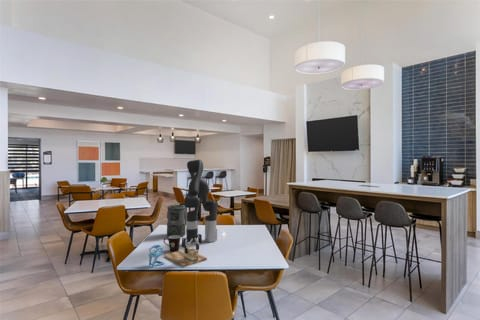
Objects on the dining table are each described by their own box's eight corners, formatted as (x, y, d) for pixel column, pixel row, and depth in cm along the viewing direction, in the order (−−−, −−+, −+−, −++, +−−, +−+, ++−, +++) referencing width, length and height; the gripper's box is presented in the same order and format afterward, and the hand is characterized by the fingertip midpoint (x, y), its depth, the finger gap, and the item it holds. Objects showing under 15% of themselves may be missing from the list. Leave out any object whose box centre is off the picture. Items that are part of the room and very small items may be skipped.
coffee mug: (182, 250, 199) (182, 236, 199) (174, 253, 191) (174, 239, 191) (171, 247, 205) (171, 234, 205) (162, 250, 197) (162, 236, 197)
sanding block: (190, 256, 182) (190, 247, 182) (198, 259, 176) (198, 250, 176) (184, 257, 179) (184, 248, 179) (191, 261, 172) (192, 252, 172)
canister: (181, 238, 227) (181, 205, 227) (163, 237, 230) (164, 204, 230) (187, 233, 243) (188, 202, 243) (171, 232, 245) (171, 201, 245)
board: (186, 250, 197) (186, 248, 197) (206, 259, 180) (206, 257, 180) (164, 256, 184) (164, 254, 184) (183, 267, 167) (183, 264, 167)
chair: (146, 265, 169) (146, 246, 169) (156, 261, 176) (157, 243, 176) (154, 268, 165) (154, 249, 165) (164, 264, 172) (165, 245, 172)
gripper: (197, 224, 185) (197, 247, 185) (179, 228, 175) (179, 252, 175) (204, 226, 179) (204, 250, 180) (186, 230, 169) (185, 256, 170)
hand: (191, 251), depth 177 cm, fingers open, 8 cm apart
